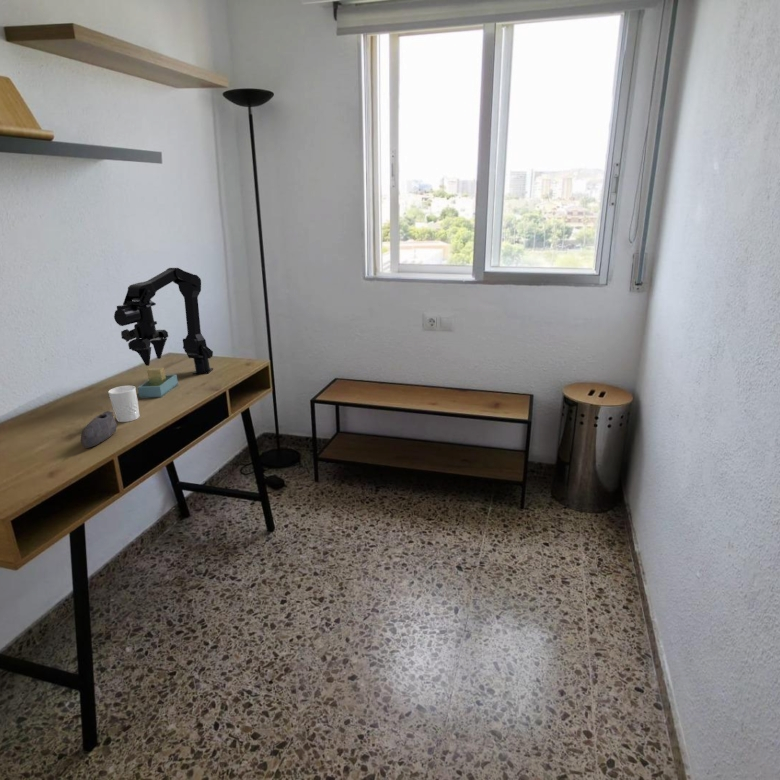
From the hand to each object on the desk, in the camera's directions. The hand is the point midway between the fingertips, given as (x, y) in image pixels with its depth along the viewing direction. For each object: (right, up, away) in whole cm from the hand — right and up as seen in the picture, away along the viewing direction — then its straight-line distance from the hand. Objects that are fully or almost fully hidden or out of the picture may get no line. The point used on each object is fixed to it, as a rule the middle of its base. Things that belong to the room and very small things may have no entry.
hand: (153, 362), depth 193 cm
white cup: (+2, -20, -22) cm, 29 cm away
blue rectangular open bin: (+1, -11, +4) cm, 11 cm away
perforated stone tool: (+2, -26, -38) cm, 46 cm away
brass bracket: (+1, -10, +4) cm, 11 cm away
